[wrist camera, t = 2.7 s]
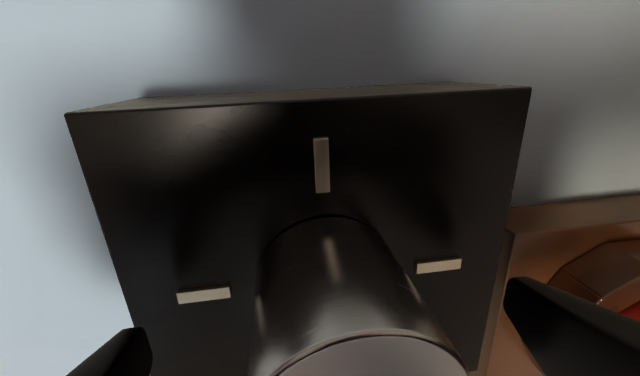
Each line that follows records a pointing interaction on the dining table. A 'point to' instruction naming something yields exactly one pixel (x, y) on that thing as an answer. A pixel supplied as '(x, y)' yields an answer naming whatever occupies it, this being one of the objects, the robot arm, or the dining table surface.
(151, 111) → the panel
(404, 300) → the knob
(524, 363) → the button block
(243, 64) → the dining table surface
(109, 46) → the dining table surface
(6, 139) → the dining table surface
